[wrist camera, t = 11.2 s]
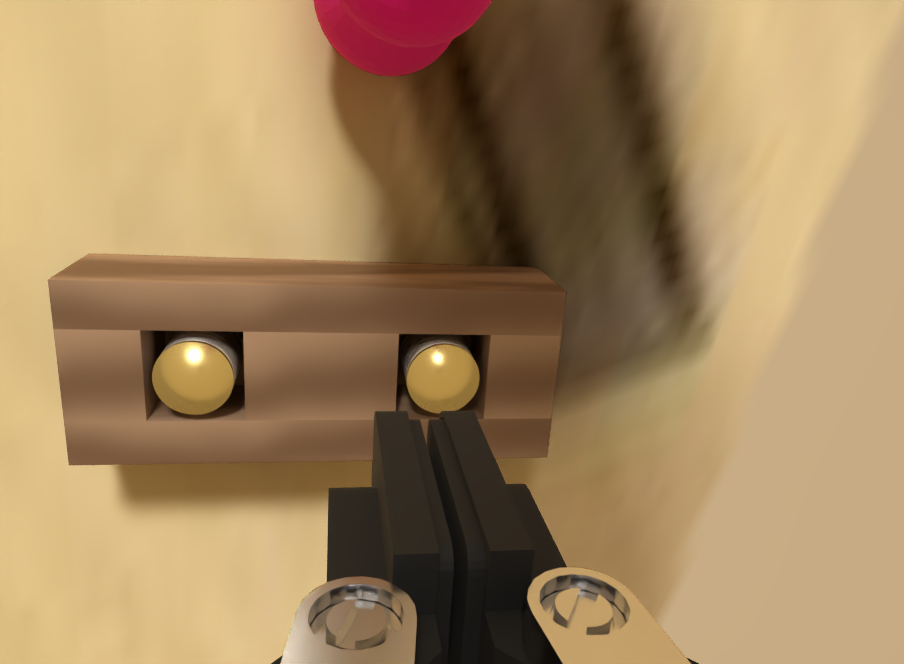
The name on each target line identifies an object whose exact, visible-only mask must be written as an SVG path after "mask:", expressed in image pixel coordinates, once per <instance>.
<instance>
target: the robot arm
mask: <svg viewBox="0 0 904 664" xmlns="http://www.w3.org/2000/svg"><path fill="white" fill-rule="evenodd" d="M272 664H698V663H696V662H694V661H692V660H690V659H688V658H686V657H685V656H684V654H683V653H682V652H681V651H680V649H679V648H678V647H677V646H676V645H675V644H674V642H673V641H672V640H671V639H670V637H669V636H668V635H667V634H666V632H665V631H664V630H663V629H662V628H661V626H660V625H659V624H658V623H657V622H656V620H655V619H654V618H653V617H652V615H651V614H650V613H649V612H648V611H647V609H646V608H645V607H644V606H643V604H642V603H641V602H640V601H639V600H638V598H637V597H636V596H635V595H634V594H633V593H632V592H631V591H630V590H629V589H628V588H627V587H626V586H625V585H624V584H622V583H620V582H619V581H617V580H615V579H614V578H612V577H610V576H608V575H606V574H603V573H600V572H597V571H594V570H590V569H584V568H578V567H567V566H566V564H565V562H564V560H563V558H562V556H561V554H560V552H559V550H558V548H557V546H556V544H555V542H554V540H553V538H552V536H551V534H550V532H549V530H548V528H547V526H546V524H545V522H544V519H543V517H542V515H541V513H540V511H539V509H538V507H537V505H536V503H535V501H534V499H533V497H532V495H531V493H530V491H529V489H528V488H527V486H526V485H525V484H506V483H505V481H504V478H503V476H502V474H501V472H500V469H499V467H498V465H497V462H496V460H495V458H494V456H493V453H492V451H491V449H490V447H489V444H488V442H487V440H486V437H485V435H484V433H483V431H482V428H481V426H480V424H479V421H478V419H477V417H476V415H475V413H474V411H441V413H440V417H439V419H429V421H428V429H427V445H426V441H425V437H424V433H423V429H422V425H421V421H420V419H409V416H408V412H407V411H375V414H374V431H373V461H372V487H359V488H329V503H328V554H327V583H325V584H323V585H321V586H319V587H317V588H315V589H314V590H312V591H311V592H310V593H309V594H308V595H307V596H306V597H305V598H304V599H303V600H302V601H301V603H300V605H299V607H298V609H297V611H296V613H295V617H294V620H293V623H292V627H291V630H290V633H289V637H288V640H287V643H286V647H285V650H284V653H283V655H282V656H281V657H280V658H278V659H277V660H276V661H274V662H273V663H272Z"/></svg>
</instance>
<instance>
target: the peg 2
mask: <svg viewBox="0 0 904 664" xmlns="http://www.w3.org/2000/svg"><path fill="white" fill-rule="evenodd" d="M400 359H401V364H402V368H403V372H404V376H405V380H406V384H407V388H408V391H409V394H410V396H411V398H412V399H413V401H414V402H415V403H416V404H417V405H418V406H420V407H421V408H423V409H424V410H427V411H429V412H433V413H441V411H456V410H458V409H460V408H462V407H463V406H465V405H466V404H467V403H468V402H469V401H470V400H471V399H472V398H473V396H474V395H475V393H476V391H477V389H478V385H479V376H480V375H479V369H478V366H477V364H476V362H475V360H474V358H473V356H472V354H471V352H470V350H469V348H468V347H467V345H466V343H465V341H464V339H463V337H462V335H456V334H406V335H405V337H404V338H403V340H402V343H401V346H400Z"/></svg>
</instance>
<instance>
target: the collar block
mask: <svg viewBox="0 0 904 664" xmlns="http://www.w3.org/2000/svg"><path fill="white" fill-rule="evenodd" d="M48 285H49V294H50V303H51V311H52V320H53V329H54V338H55V347H56V355H57V364H58V373H59V382H60V390H61V399H62V408H63V417H64V426H65V434H66V443H67V452H68V461H69V465H116V464H176V463H237V462H297V461H358V460H373V431H374V414H375V411H407V412H408V416H409V419H420V421H421V425H422V429H423V433H424V437H425V441H426V445H427V429H428V421H429V419H439V417H440V413H433V412H429V411H427V410H424V409H423V408H421V407H420V406H418V405H417V404H416V403H415V402H414V401H413V399H412V398H411V396H410V394H409V391H408V388H407V384H406V380H405V376H404V372H403V368H402V364H401V359H400V346H401V343H402V340H403V338H404V337H405V335H406V334H456V335H462V337H463V339H464V341H465V343H466V345H467V347H468V348H469V350H470V352H471V354H472V356H473V358H474V360H475V362H476V364H477V366H478V369H479V375H480V376H479V385H478V389H477V391H476V393H475V395H474V396H473V398H472V399H471V400H470V401H469V402H468V403H467V404H466V405H465V406H463V407H462V408H460V409H458V410H456V411H474V413H475V415H476V417H477V419H478V421H479V424H480V426H481V428H482V431H483V433H484V435H485V437H486V440H487V442H488V444H489V447H490V449H491V451H492V453H493V456H494V458H540V457H547V454H548V446H549V437H550V429H551V421H552V412H553V404H554V395H555V387H556V378H557V370H558V362H559V353H560V345H561V336H562V328H563V319H564V311H565V303H566V294H567V292H566V291H565V290H564V289H562V288H561V287H560V286H559V285H558V284H556V283H555V282H554V281H553V280H552V279H551V278H549V277H548V276H547V275H546V274H545V273H543V272H542V271H541V270H540V269H539V268H538V267H515V266H482V265H449V264H416V263H382V262H349V261H316V260H283V259H250V258H217V257H183V256H150V255H117V254H88V255H86V256H85V257H83V258H81V259H80V260H78V261H77V262H75V263H73V264H72V265H70V266H69V267H67V268H66V269H64V270H62V271H61V272H59V273H58V274H56V275H54V276H53V277H51V278H50V279H48ZM176 331H231V332H238V333H239V334H240V336H241V338H242V341H243V344H244V358H243V361H242V364H241V367H240V369H239V372H238V375H237V378H236V381H235V383H234V386H233V389H232V392H231V394H230V396H229V398H228V399H227V400H226V402H225V403H224V404H223V405H221V406H220V407H219V408H217V409H216V410H214V411H211V412H209V413H206V414H200V415H190V414H184V413H181V412H178V411H175V410H173V409H172V408H170V407H168V406H167V405H166V404H165V403H164V402H163V401H162V400H161V399H160V398H159V397H158V395H157V393H156V392H155V389H154V386H153V382H152V372H153V367H154V365H155V362H156V361H157V359H158V358H159V356H160V355H161V353H162V352H163V350H164V349H165V347H166V346H167V344H168V343H169V342H170V340H171V339H172V337H173V336H174V334H175V333H176Z"/></svg>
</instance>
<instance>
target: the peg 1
mask: <svg viewBox="0 0 904 664" xmlns="http://www.w3.org/2000/svg"><path fill="white" fill-rule="evenodd" d="M243 358H244V344H243V341H242V338H241V336H240V334H239V333H238V332H231V331H176V333H175V334H174V336H173V337H172V339H171V340H170V342H169V343H168V344H167V346H166V347H165V349H164V350H163V352H162V353H161V355H160V356H159V358H158V359H157V361H156V362H155V365H154V367H153V372H152V382H153V386H154V389H155V392H156V393H157V395H158V397H159V398H160V399H161V400H162V401H163V402H164V403H165V404H166V405H167V406H168V407H170V408H172V409H173V410H175V411H178V412H181V413H184V414H190V415H200V414H206V413H209V412H211V411H214V410H216V409H217V408H219V407H220V406H221V405H223V404H224V403H225V402H226V400H227V399H228V398H229V396H230V394H231V392H232V389H233V386H234V383H235V381H236V378H237V375H238V372H239V369H240V367H241V364H242V361H243Z"/></svg>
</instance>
